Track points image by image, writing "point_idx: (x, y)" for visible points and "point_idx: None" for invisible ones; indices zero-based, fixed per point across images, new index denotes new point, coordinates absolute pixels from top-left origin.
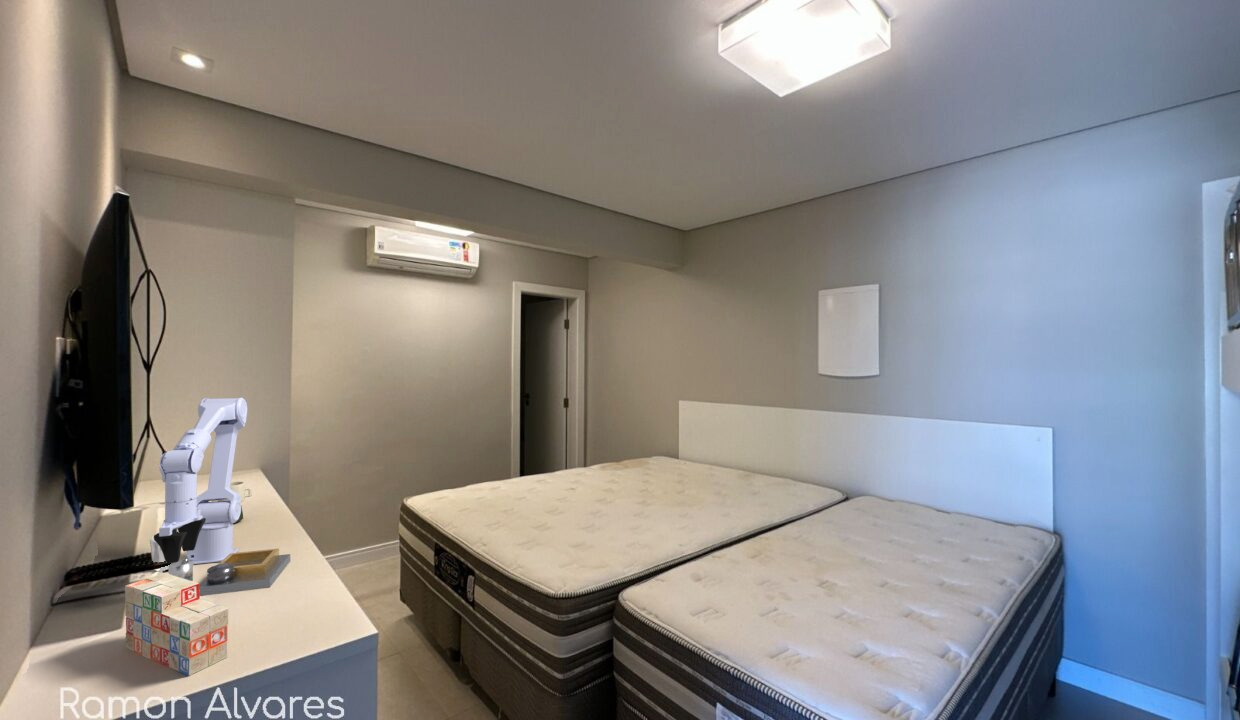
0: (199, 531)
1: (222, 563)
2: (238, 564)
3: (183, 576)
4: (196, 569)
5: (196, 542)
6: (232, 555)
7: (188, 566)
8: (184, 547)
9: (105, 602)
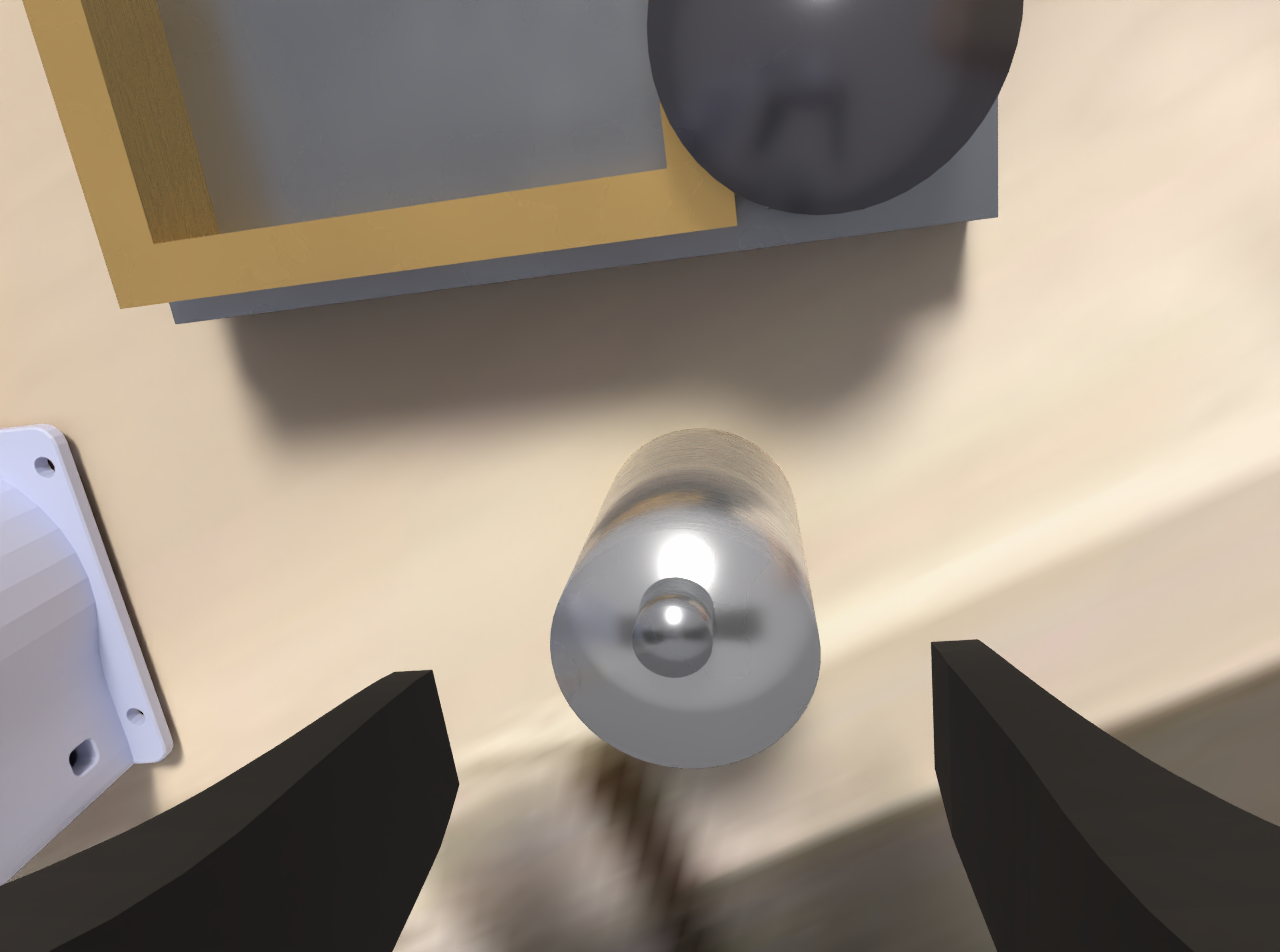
0: (153, 833)
1: (485, 203)
2: (303, 113)
3: (783, 516)
4: (259, 612)
5: (326, 715)
6: (177, 242)
7: (739, 527)
8: (437, 811)
9: (869, 939)
